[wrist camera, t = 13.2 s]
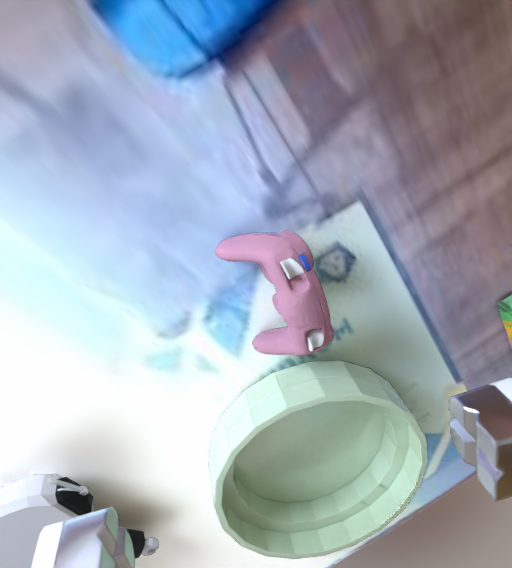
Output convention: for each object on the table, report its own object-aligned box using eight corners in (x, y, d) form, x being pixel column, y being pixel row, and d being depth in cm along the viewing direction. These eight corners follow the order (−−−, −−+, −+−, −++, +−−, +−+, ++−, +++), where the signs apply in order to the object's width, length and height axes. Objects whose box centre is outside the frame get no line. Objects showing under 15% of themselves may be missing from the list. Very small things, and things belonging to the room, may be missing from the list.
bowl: (392, 331, 40) (422, 366, 35) (406, 477, 48) (432, 519, 44) (183, 394, 39) (187, 438, 34) (235, 533, 47) (243, 582, 42)
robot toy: (167, 515, 45) (51, 435, 37) (170, 561, 41) (42, 483, 34) (65, 579, 46) (-68, 514, 38) (59, 630, 42) (-90, 569, 35)
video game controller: (291, 320, 39) (355, 347, 34) (250, 352, 37) (310, 386, 32) (255, 213, 35) (321, 225, 29) (205, 243, 33) (266, 261, 27)
